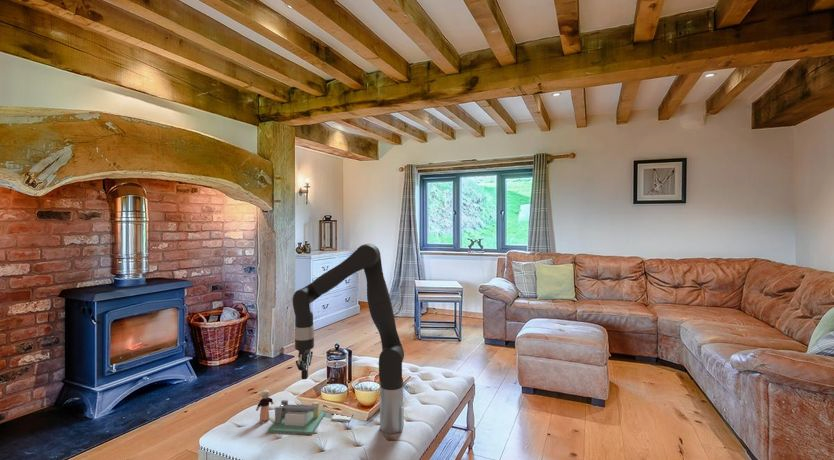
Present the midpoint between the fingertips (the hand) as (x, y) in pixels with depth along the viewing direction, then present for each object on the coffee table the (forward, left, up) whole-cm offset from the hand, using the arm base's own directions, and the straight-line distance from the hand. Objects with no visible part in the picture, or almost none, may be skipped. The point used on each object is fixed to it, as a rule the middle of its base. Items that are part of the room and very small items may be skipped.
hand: (304, 378), depth 159 cm
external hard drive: (-14, -9, -19) cm, 26 cm away
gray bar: (+3, 0, -13) cm, 14 cm away
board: (+3, 0, -19) cm, 19 cm away
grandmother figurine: (+17, -1, -19) cm, 25 cm away
